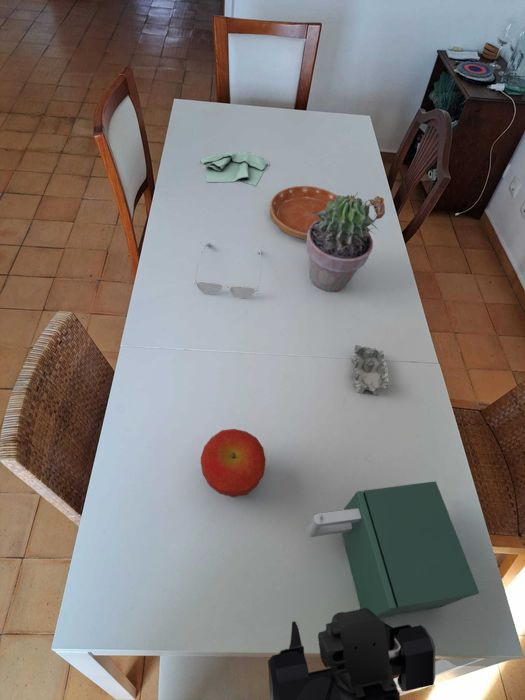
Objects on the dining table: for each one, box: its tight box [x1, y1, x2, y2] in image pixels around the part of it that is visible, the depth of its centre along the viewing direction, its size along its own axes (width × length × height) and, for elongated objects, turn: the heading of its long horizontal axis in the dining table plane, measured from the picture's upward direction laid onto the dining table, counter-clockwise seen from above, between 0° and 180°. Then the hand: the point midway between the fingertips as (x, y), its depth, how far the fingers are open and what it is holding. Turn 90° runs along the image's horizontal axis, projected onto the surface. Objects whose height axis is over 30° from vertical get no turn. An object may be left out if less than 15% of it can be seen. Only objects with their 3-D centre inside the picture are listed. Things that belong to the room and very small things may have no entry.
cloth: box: [199, 151, 269, 187], centre depth 142 cm, size 20×22×2 cm
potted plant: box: [299, 191, 386, 293], centre depth 107 cm, size 18×20×25 cm
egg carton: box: [351, 344, 389, 396], centre depth 98 cm, size 11×8×4 cm
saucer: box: [269, 185, 338, 241], centre depth 129 cm, size 23×23×4 cm
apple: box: [200, 428, 267, 498], centre depth 78 cm, size 11×11×12 cm
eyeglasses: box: [193, 242, 263, 299], centre depth 113 cm, size 15×18×4 cm
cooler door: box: [305, 490, 396, 616], centre depth 70 cm, size 8×16×13 cm, turn 9°
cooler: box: [363, 480, 480, 619], centre depth 72 cm, size 12×16×13 cm
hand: (328, 617), depth 59 cm, fingers open, 9 cm apart
